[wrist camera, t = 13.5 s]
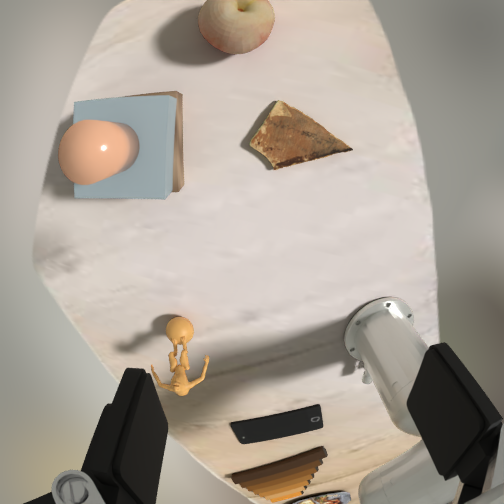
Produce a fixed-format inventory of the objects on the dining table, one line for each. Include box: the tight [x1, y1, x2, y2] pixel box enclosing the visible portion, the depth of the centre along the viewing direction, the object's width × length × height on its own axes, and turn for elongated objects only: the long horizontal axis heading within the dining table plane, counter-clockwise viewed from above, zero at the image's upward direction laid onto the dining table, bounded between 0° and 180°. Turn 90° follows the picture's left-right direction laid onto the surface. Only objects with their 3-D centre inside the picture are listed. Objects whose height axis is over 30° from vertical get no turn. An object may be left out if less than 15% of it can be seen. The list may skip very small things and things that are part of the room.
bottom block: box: [125, 91, 184, 192], centre depth 32 cm, size 11×11×4 cm
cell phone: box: [231, 404, 323, 444], centre depth 56 cm, size 9×18×1 cm, turn 104°
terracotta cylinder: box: [58, 120, 140, 185], centre depth 23 cm, size 5×5×7 cm
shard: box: [249, 100, 353, 170], centre depth 35 cm, size 11×8×2 cm
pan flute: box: [231, 446, 328, 503], centre depth 66 cm, size 25×3×25 cm
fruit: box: [198, 0, 275, 54], centre depth 25 cm, size 8×8×8 cm
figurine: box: [151, 317, 209, 396], centre depth 39 cm, size 8×6×12 cm
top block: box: [73, 95, 177, 199], centre depth 28 cm, size 10×10×4 cm
